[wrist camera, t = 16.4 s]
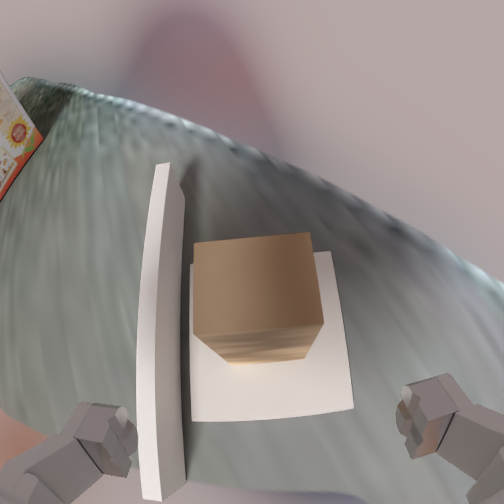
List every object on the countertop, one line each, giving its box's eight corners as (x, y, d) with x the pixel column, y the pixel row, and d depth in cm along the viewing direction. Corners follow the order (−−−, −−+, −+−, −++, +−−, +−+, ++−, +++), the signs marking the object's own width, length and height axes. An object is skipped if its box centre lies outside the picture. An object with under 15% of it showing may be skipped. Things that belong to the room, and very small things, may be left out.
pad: (194, 420, 19) (191, 421, 19) (192, 267, 25) (190, 264, 24) (351, 408, 19) (353, 408, 18) (329, 254, 24) (330, 251, 24)
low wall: (170, 481, 17) (142, 498, 13) (173, 200, 28) (156, 164, 24) (186, 483, 17) (162, 501, 12) (185, 199, 28) (170, 162, 24)
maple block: (231, 365, 20) (193, 334, 12) (228, 310, 22) (194, 243, 13) (304, 359, 20) (324, 323, 11) (297, 304, 22) (309, 231, 13)
